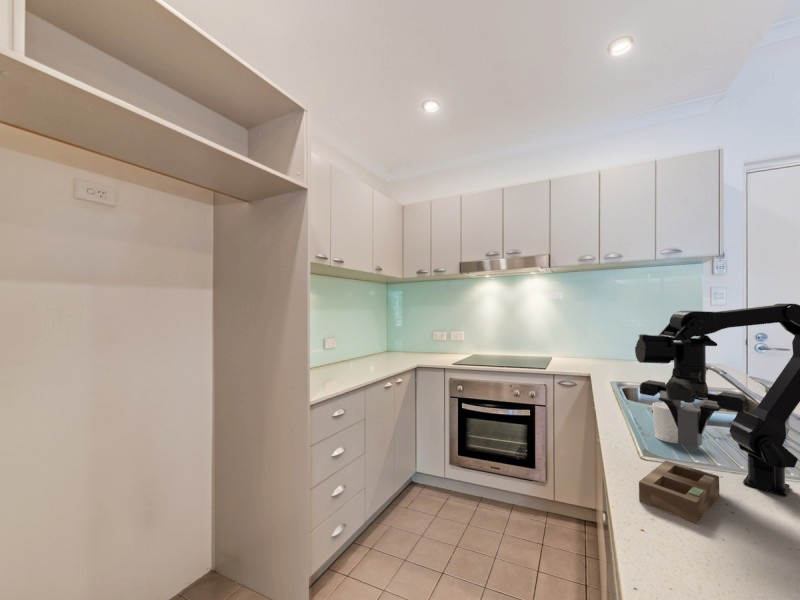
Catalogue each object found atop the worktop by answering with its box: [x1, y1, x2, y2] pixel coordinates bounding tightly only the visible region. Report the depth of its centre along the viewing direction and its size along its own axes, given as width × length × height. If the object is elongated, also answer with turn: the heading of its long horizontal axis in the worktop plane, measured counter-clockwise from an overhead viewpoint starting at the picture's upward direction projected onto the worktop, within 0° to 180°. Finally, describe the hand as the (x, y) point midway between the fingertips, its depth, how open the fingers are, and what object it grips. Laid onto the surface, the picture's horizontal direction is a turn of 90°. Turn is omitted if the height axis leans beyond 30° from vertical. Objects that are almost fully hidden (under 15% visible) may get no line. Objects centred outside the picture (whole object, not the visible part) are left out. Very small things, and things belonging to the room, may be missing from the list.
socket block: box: [638, 460, 720, 525], centre depth 73 cm, size 16×9×4 cm, turn 126°
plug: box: [677, 405, 703, 449], centre depth 81 cm, size 4×4×8 cm
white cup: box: [652, 401, 683, 444], centre depth 104 cm, size 8×8×10 cm
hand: (689, 431), depth 81 cm, fingers closed on plug, 4 cm apart
